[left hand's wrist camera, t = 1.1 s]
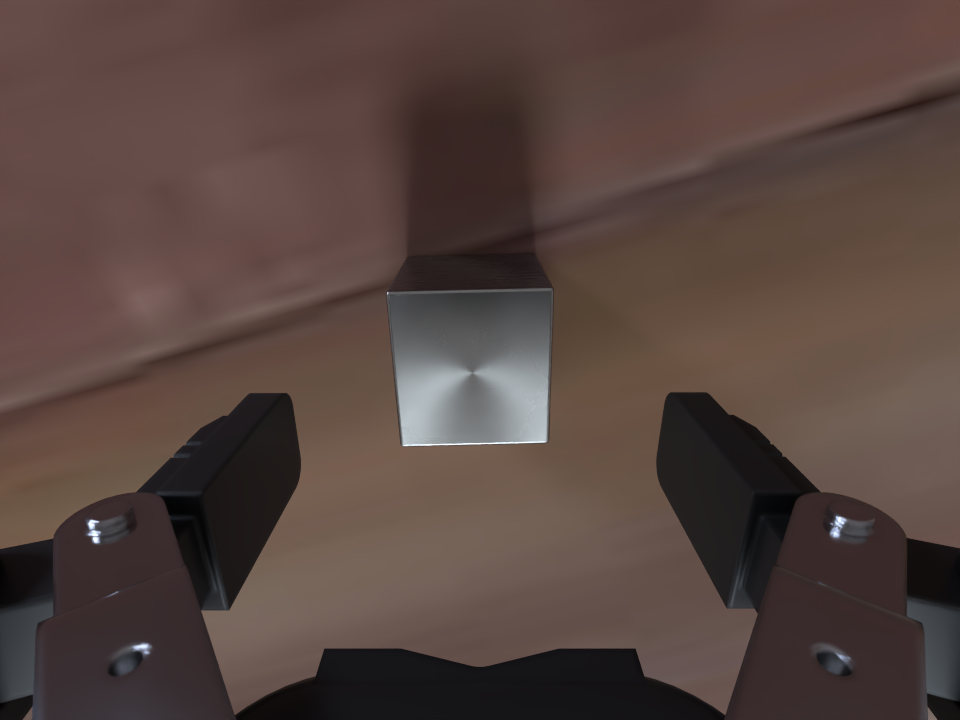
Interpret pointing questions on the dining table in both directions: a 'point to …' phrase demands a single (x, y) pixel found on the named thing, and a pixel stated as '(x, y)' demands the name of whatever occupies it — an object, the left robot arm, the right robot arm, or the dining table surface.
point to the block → (472, 349)
